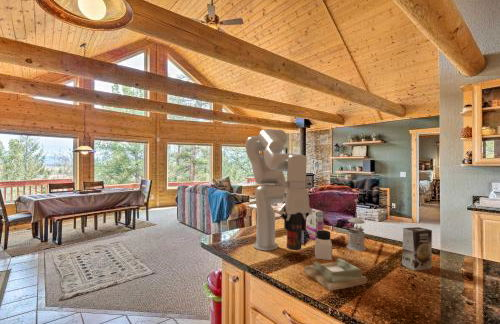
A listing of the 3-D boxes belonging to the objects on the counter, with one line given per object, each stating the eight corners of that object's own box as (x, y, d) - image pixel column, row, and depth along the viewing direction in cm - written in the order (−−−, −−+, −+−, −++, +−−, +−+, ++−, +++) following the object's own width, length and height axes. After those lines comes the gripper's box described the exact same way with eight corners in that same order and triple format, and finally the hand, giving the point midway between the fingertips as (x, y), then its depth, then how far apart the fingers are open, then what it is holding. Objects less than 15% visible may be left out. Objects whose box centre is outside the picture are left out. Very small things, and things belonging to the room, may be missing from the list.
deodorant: (285, 244, 106) (286, 209, 105) (299, 244, 106) (300, 209, 106) (288, 250, 100) (289, 212, 99) (303, 250, 101) (304, 212, 100)
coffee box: (415, 271, 103) (415, 231, 103) (401, 265, 109) (402, 227, 109) (432, 269, 105) (432, 230, 105) (418, 263, 112) (418, 226, 112)
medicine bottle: (332, 260, 113) (332, 233, 113) (315, 259, 114) (316, 232, 114) (330, 254, 120) (330, 229, 120) (314, 253, 121) (315, 228, 121)
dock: (304, 271, 101) (304, 258, 101) (337, 266, 107) (337, 254, 107) (330, 290, 86) (330, 276, 86) (366, 283, 92) (366, 269, 92)
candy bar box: (323, 240, 142) (324, 211, 142) (316, 241, 140) (316, 211, 140) (313, 235, 152) (313, 208, 152) (305, 235, 151) (306, 208, 151)
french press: (362, 244, 135) (363, 198, 136) (370, 252, 124) (371, 201, 124) (343, 244, 136) (344, 197, 136) (349, 251, 125) (350, 200, 125)
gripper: (281, 186, 96) (279, 233, 96) (319, 186, 102) (317, 230, 102) (272, 184, 103) (271, 228, 104) (309, 183, 109) (307, 225, 109)
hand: (294, 228), depth 103 cm, fingers closed on deodorant, 6 cm apart
